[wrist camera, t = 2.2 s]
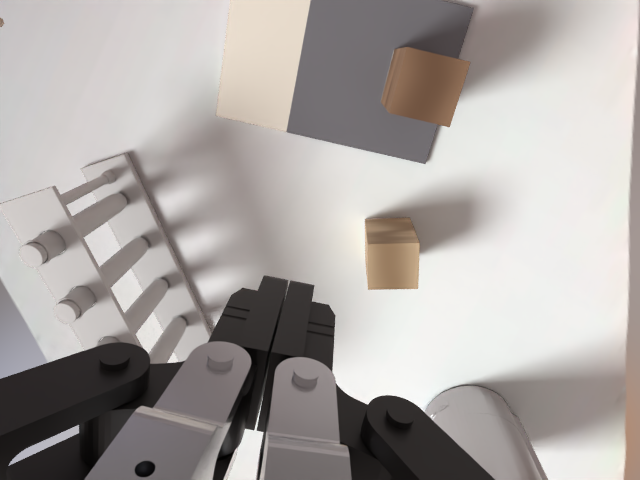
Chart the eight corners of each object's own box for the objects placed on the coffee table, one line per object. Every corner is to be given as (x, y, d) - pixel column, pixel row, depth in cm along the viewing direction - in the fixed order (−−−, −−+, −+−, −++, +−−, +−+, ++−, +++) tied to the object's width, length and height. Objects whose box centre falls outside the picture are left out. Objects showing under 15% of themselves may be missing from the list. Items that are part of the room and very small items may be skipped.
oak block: (409, 217, 40) (419, 242, 35) (408, 258, 42) (417, 288, 36) (364, 218, 41) (367, 244, 35) (365, 259, 42) (368, 289, 36)
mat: (472, 8, 34) (473, 7, 33) (424, 162, 38) (425, 163, 38) (237, -48, 33) (236, -50, 33) (217, 115, 38) (215, 116, 37)
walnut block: (444, 61, 35) (470, 62, 27) (428, 112, 36) (449, 127, 29) (394, 49, 35) (406, 46, 27) (380, 101, 36) (389, 113, 29)
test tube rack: (84, 166, 40) (-30, 214, 28) (128, 152, 40) (30, 194, 27) (194, 384, 49) (143, 493, 37) (232, 375, 48) (193, 484, 36)
